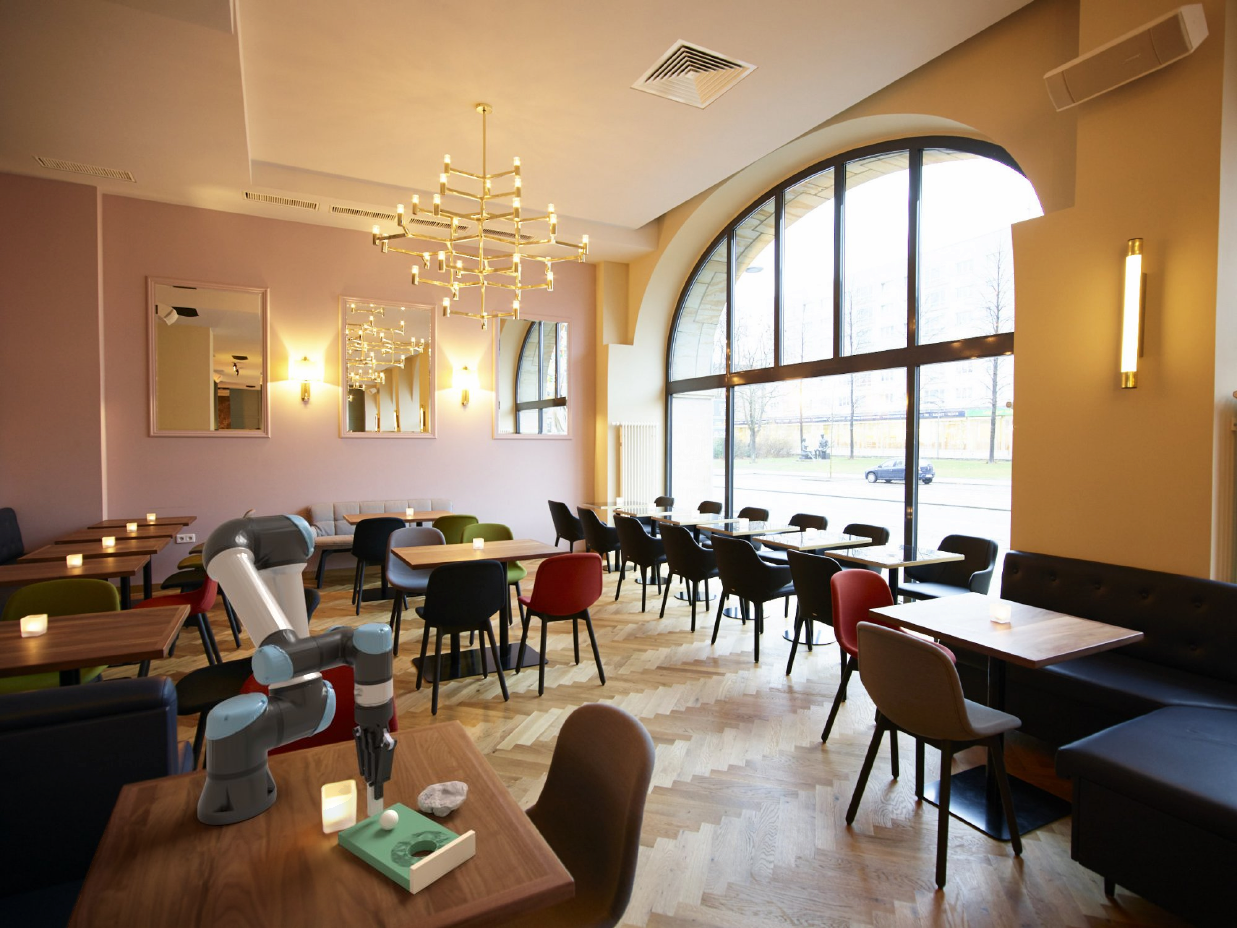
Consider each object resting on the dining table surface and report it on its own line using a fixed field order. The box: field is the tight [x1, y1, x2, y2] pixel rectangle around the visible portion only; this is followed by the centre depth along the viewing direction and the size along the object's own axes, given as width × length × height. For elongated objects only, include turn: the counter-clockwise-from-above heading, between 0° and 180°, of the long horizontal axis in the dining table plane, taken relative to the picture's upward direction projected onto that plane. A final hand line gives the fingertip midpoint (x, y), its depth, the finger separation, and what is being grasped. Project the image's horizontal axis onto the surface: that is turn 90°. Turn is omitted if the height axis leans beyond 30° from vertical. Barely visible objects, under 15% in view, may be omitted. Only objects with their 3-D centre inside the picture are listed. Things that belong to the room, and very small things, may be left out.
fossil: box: [416, 780, 469, 818], centre depth 139 cm, size 9×6×10 cm
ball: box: [380, 810, 398, 830], centre depth 128 cm, size 4×4×4 cm
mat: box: [337, 802, 476, 895], centre depth 125 cm, size 25×14×4 cm, turn 53°
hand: (375, 812), depth 131 cm, fingers closed
